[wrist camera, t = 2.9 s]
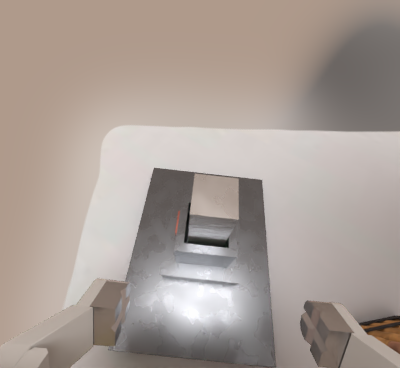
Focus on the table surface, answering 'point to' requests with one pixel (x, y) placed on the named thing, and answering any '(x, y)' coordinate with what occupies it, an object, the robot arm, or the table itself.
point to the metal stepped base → (199, 281)
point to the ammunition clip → (385, 331)
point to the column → (213, 209)
